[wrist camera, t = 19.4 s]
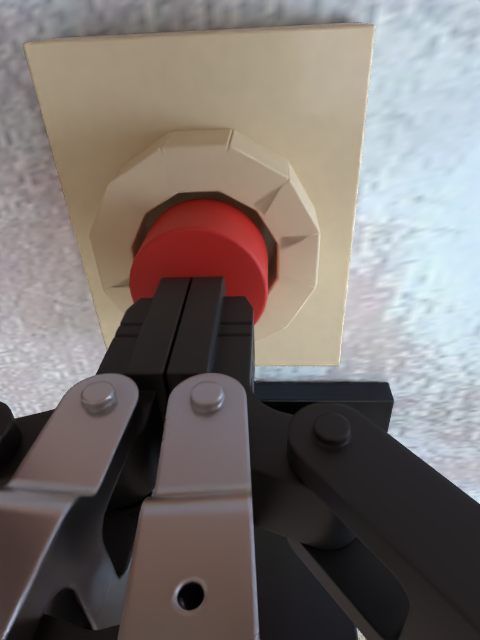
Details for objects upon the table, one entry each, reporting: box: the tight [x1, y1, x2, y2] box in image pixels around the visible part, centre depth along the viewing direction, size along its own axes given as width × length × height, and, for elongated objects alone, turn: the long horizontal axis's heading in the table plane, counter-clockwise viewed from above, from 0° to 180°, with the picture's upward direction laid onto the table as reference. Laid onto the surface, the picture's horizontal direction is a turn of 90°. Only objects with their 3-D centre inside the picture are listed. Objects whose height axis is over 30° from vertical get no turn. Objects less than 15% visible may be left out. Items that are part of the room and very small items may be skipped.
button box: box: [23, 22, 375, 366], centre depth 14 cm, size 11×9×4 cm
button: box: [129, 199, 268, 325], centre depth 12 cm, size 4×4×2 cm
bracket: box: [253, 383, 394, 640], centre depth 17 cm, size 10×8×14 cm
